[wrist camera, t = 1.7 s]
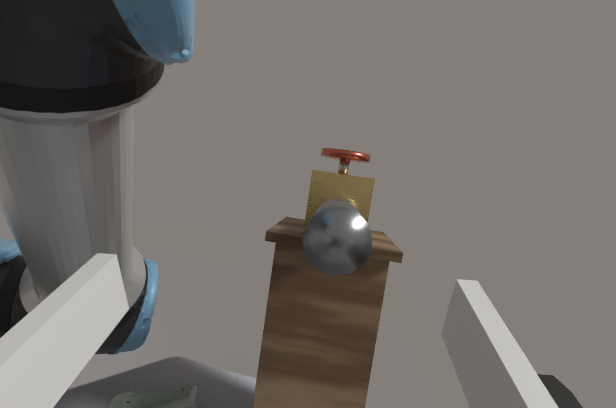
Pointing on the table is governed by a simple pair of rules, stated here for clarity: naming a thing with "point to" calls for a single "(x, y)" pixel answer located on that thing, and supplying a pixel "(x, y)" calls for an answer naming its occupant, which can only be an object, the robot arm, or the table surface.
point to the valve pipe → (338, 216)
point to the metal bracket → (158, 398)
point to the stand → (319, 325)
